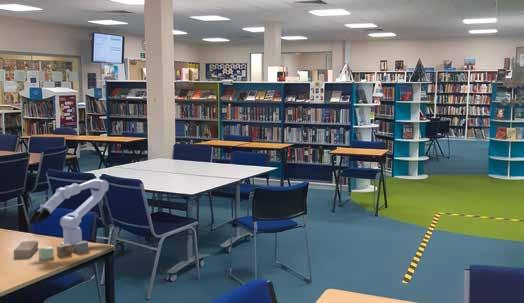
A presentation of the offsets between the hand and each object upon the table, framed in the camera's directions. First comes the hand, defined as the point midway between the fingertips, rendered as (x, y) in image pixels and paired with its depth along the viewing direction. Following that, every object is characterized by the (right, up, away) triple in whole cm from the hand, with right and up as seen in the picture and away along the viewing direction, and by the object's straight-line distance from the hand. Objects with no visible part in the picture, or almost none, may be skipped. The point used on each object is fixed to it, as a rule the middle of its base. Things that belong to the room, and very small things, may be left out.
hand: (33, 221), depth 271 cm
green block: (+8, -18, -3) cm, 20 cm away
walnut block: (+15, -18, +3) cm, 23 cm away
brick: (-6, -18, +5) cm, 19 cm away
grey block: (+23, -17, +8) cm, 29 cm away
